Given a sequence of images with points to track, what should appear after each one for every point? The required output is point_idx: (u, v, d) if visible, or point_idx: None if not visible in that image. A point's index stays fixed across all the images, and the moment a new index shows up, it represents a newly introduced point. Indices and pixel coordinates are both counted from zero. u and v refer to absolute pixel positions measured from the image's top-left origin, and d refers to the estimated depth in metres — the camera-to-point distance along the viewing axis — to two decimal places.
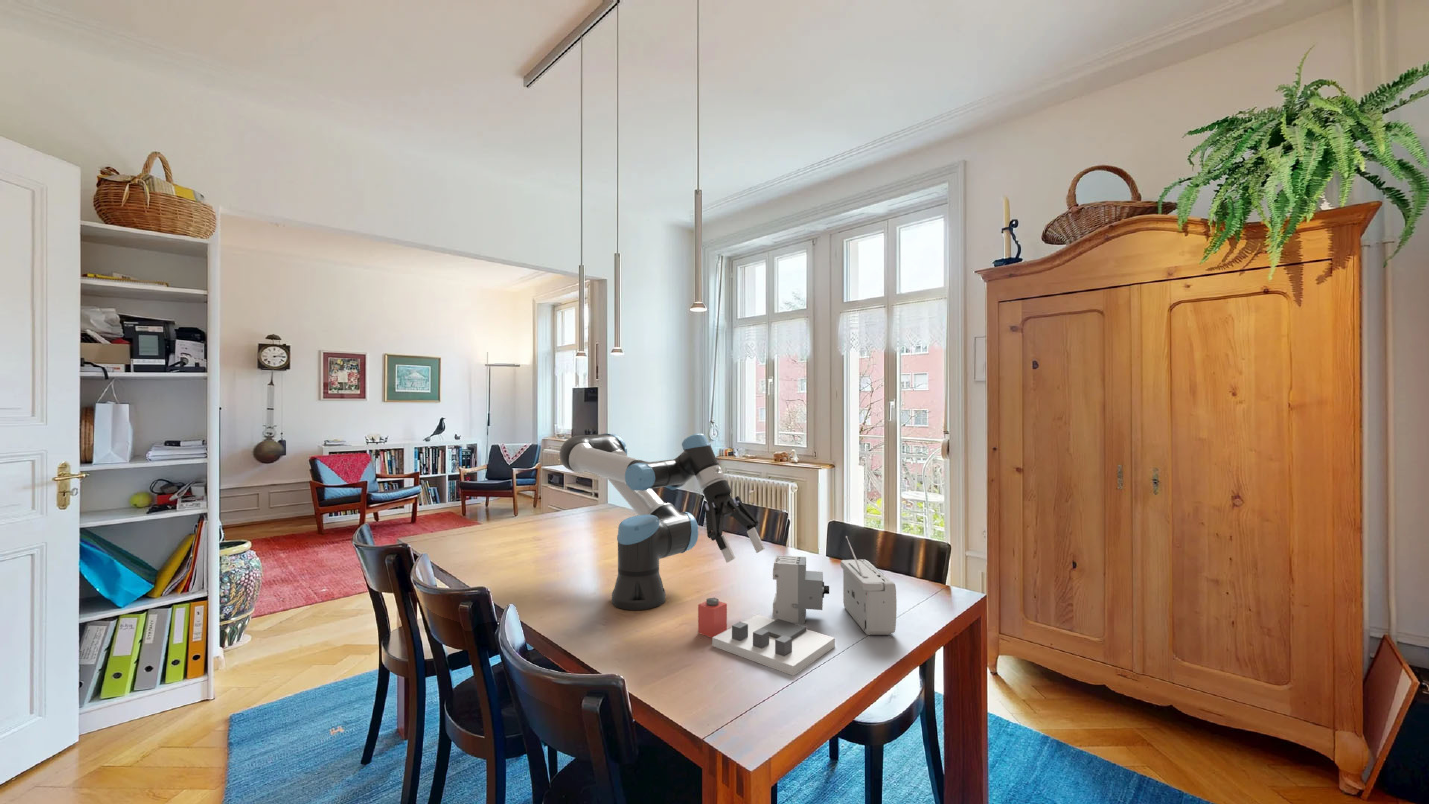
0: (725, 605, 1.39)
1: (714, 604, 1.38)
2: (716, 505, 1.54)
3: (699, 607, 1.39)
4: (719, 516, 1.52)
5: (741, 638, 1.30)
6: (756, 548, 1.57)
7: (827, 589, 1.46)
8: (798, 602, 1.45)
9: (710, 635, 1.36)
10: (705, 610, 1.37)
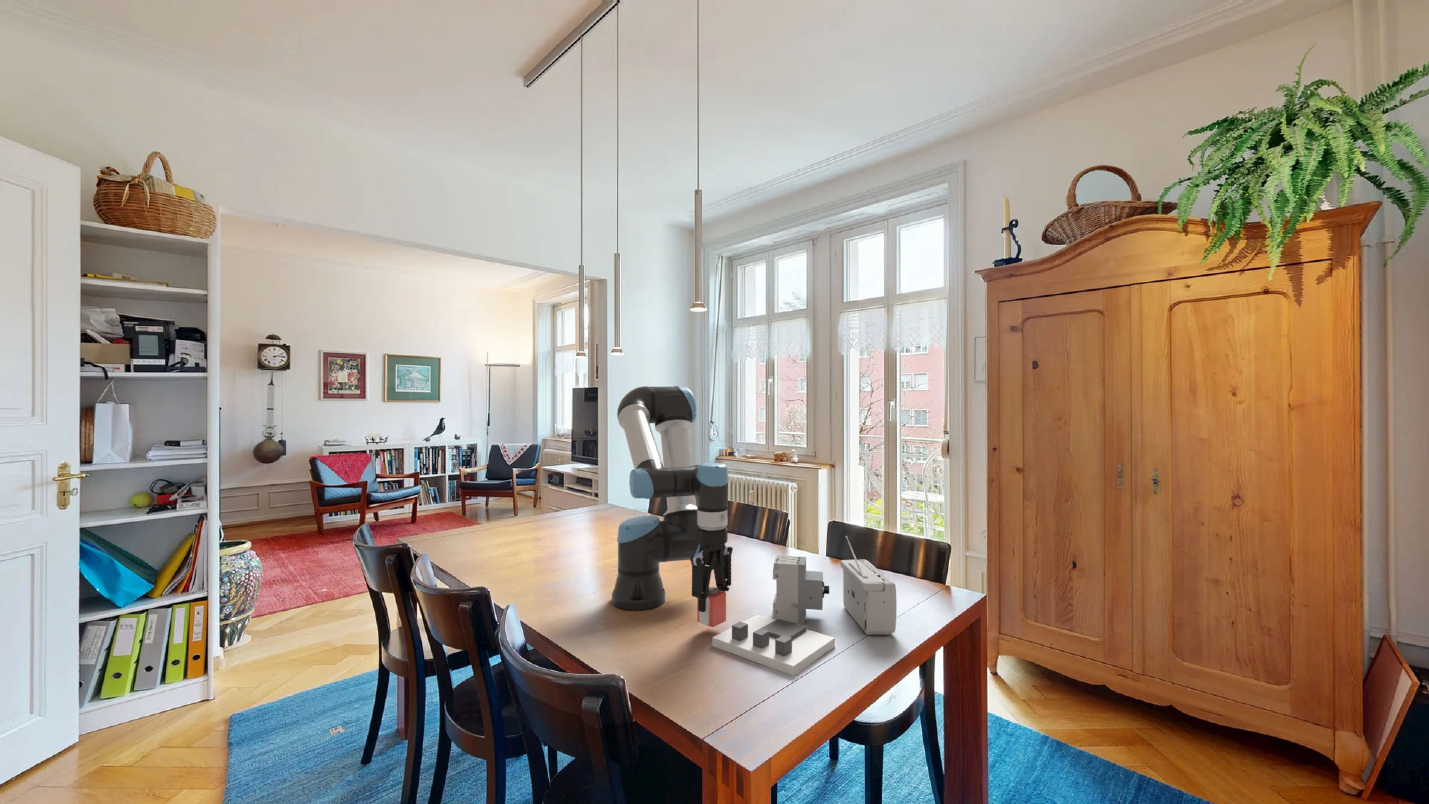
0: (724, 594, 1.40)
1: (713, 593, 1.38)
2: (705, 557, 1.36)
3: None
4: (706, 572, 1.37)
5: (741, 638, 1.30)
6: None
7: (827, 589, 1.46)
8: (798, 602, 1.45)
9: None
10: None
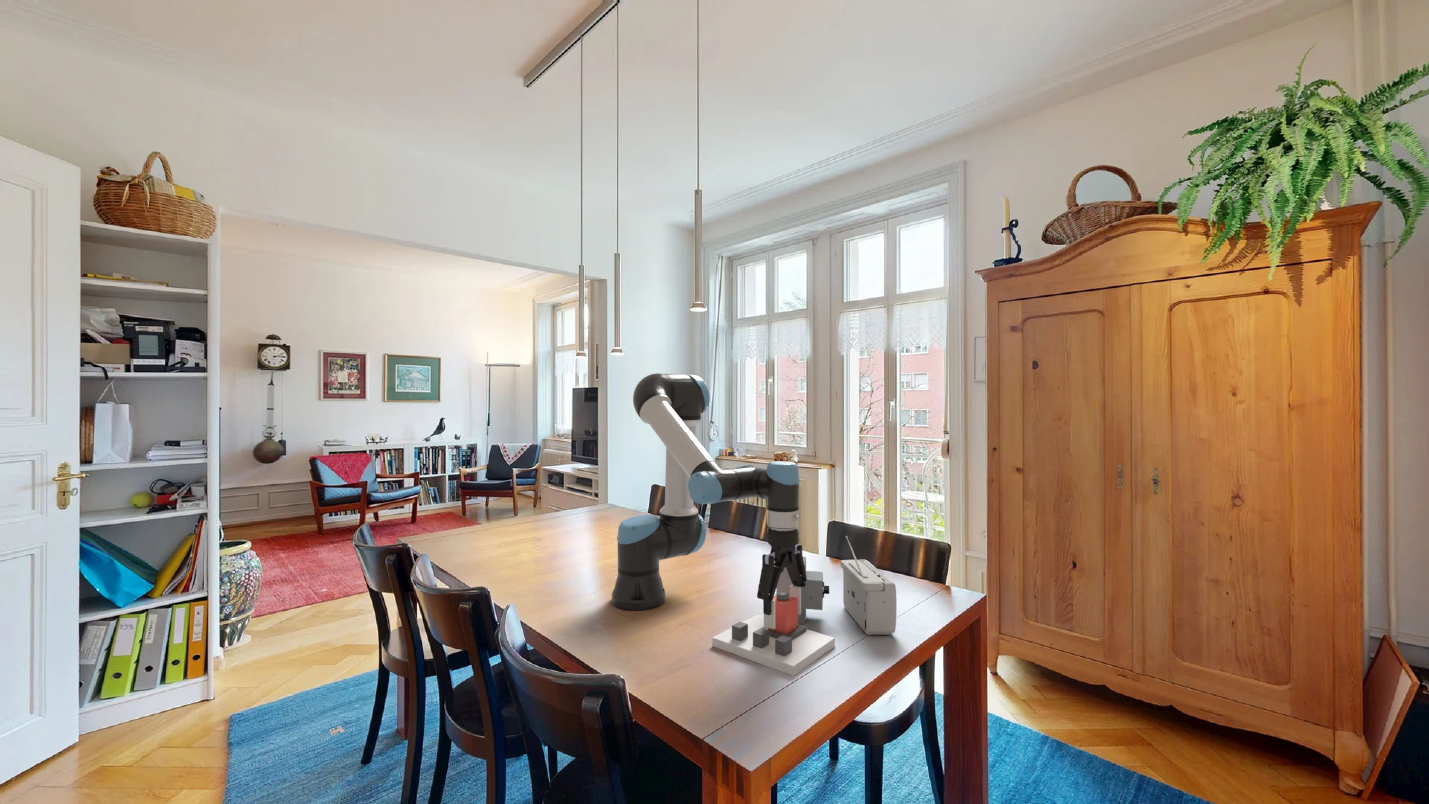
0: (796, 599, 1.34)
1: (785, 598, 1.33)
2: (776, 558, 1.31)
3: None
4: (775, 573, 1.31)
5: (741, 638, 1.30)
6: None
7: (827, 589, 1.46)
8: None
9: (782, 630, 1.32)
10: (776, 605, 1.33)
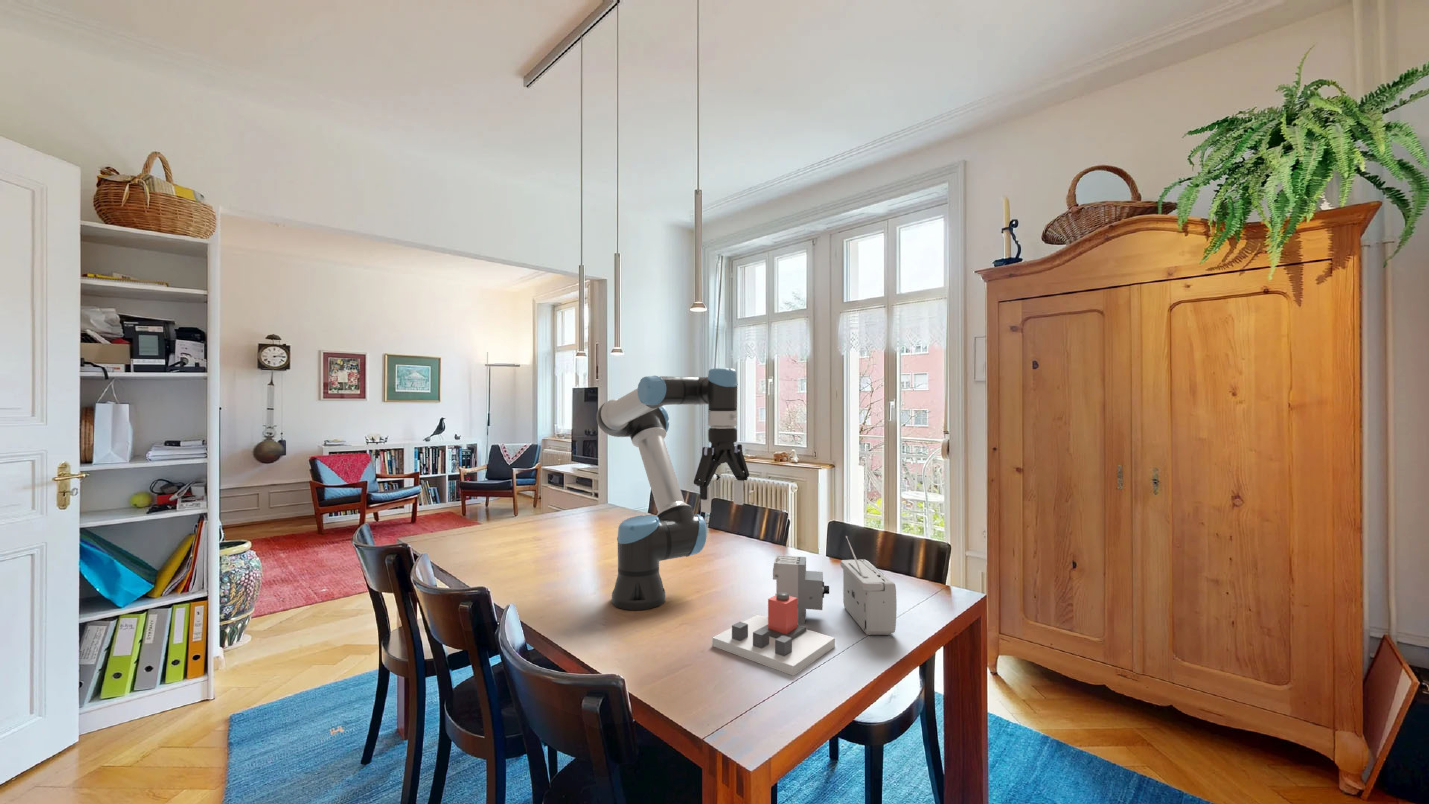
0: (796, 599, 1.34)
1: (785, 598, 1.33)
2: (715, 452, 1.45)
3: (769, 602, 1.34)
4: (713, 465, 1.44)
5: (741, 638, 1.30)
6: (735, 500, 1.54)
7: (827, 589, 1.46)
8: (798, 602, 1.45)
9: (782, 630, 1.32)
10: (776, 605, 1.33)
